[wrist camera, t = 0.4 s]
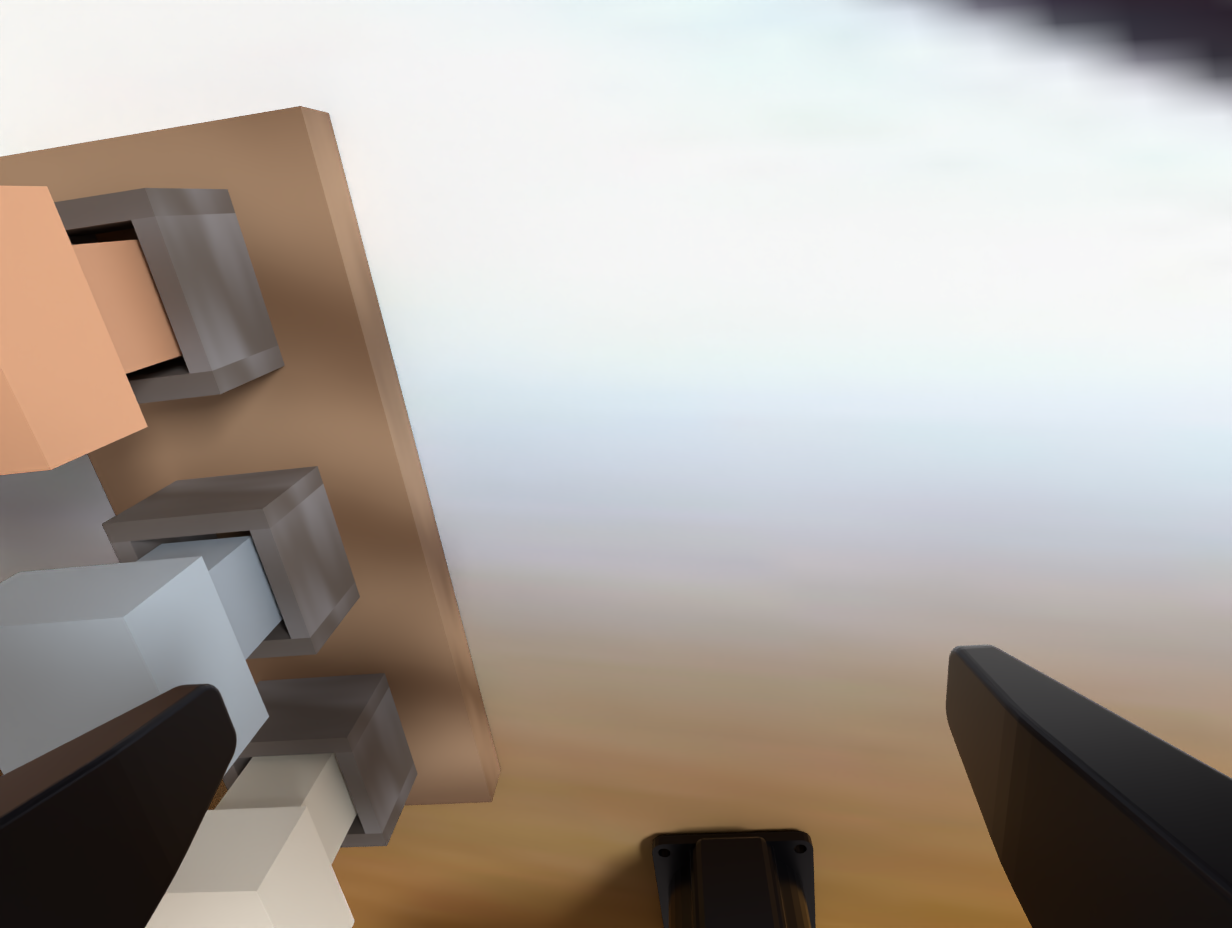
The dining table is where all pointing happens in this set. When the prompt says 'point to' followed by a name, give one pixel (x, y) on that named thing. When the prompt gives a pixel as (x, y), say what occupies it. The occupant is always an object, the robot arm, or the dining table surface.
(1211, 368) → the dining table surface
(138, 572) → the slate button
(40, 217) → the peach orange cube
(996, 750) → the robot arm
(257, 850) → the cream button
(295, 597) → the walnut button board
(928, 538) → the dining table surface
